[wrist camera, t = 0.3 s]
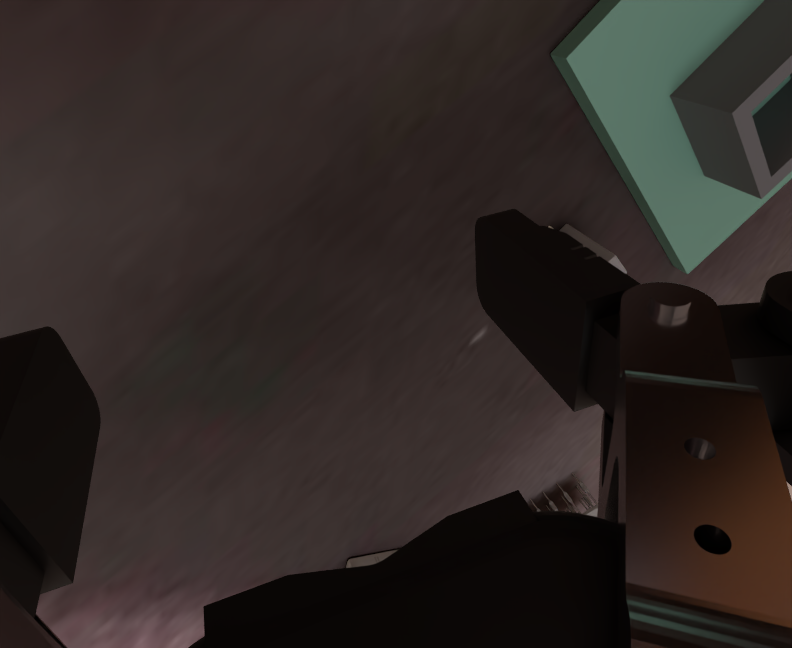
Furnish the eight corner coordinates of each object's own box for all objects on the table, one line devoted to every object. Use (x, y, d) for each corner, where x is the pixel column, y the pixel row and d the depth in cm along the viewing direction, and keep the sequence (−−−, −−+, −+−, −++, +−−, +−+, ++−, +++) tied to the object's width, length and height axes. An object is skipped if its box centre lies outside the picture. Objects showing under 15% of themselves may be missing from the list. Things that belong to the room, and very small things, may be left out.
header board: (673, 265, 44) (735, 303, 39) (549, 54, 30) (623, 73, 25) (836, 112, 41) (924, 134, 36) (783, -197, 27) (912, -225, 23)
